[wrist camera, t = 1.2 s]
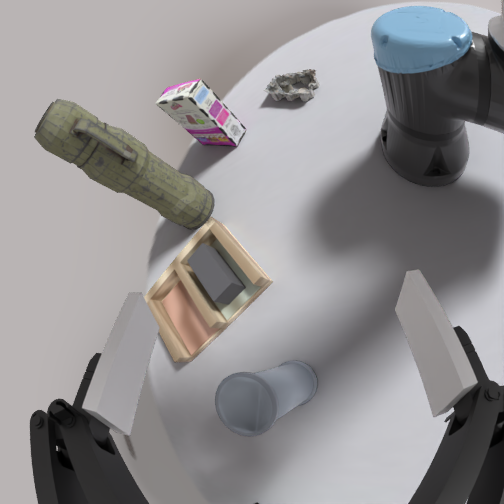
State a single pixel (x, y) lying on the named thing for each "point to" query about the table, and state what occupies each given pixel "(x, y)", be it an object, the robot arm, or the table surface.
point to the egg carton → (288, 90)
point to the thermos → (122, 163)
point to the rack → (201, 294)
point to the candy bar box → (201, 113)
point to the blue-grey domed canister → (263, 396)
